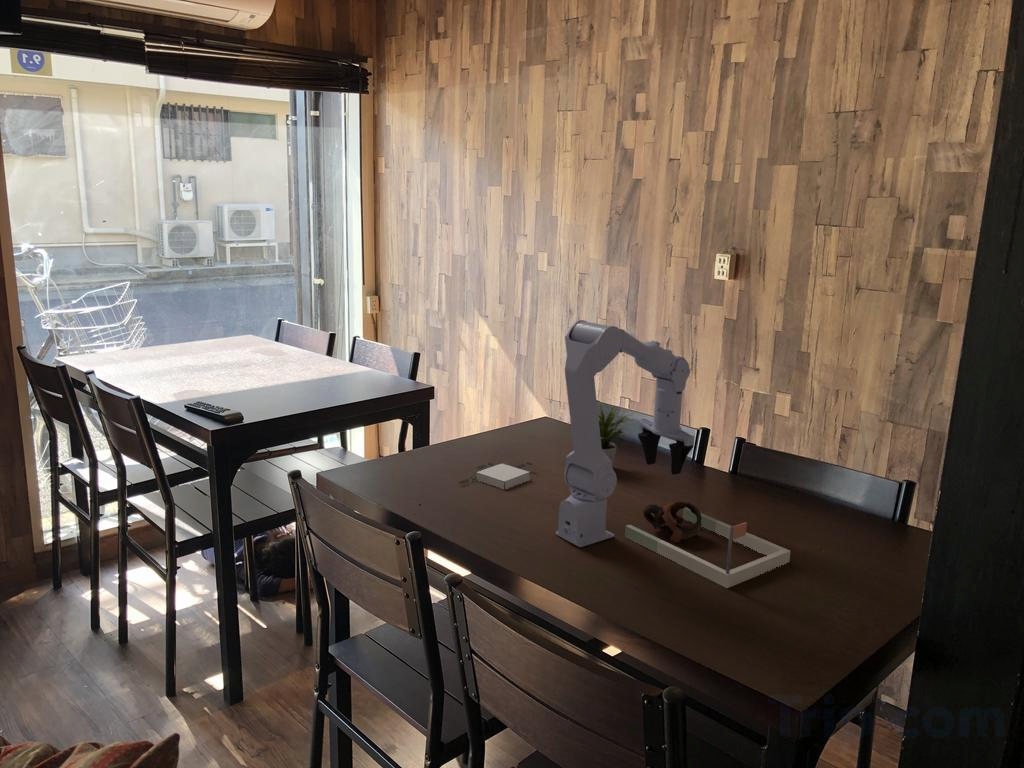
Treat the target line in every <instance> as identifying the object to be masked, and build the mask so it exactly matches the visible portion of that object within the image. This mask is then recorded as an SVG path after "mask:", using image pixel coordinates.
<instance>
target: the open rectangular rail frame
mask: <svg viewBox="0 0 1024 768" xmlns="http://www.w3.org/2000/svg"><path fill="white" fill-rule="evenodd" d="M700 514H701V517H702V519H701V523H702V524H701V528H702V527H704V528H706V529H708V530H707V531H709V530H711V531H713V532H715V533H717V534H716V535H718V534H719V535H718V536H720V535H722V536H724V537H726V538H725V539H727V538H728V539H727V540H728V544H727V545H728V546H727V555H726V556H727V558H726V568H725V569H723V568H721V567H720V566H717V565H715V564H713V563H711V562H709V561H706V560H705V559H702V557H701V558H700V557H699V556H696V555H694V554H693V553H690V552H688V551H686V550H684V549H682V548H680V547H677V546H676V545H673V544H671V543H669V542H667V541H665V540H662V539H661V538H658V537H656V536H655V535H653V534H650V533H649V532H646V531H644V530H642V529H640V528H638V527H636V526H633V525H631V524H627V525H625V530H624V531H625V532H624V538H625V539H627V540H630V541H632V542H634V543H635V544H637V543H638V545H640V546H641V545H642V547H643V546H644V548H645V547H646V549H647V548H648V550H649V549H650V550H649V551H651V550H652V552H653V551H654V553H655V552H656V554H657V553H658V554H657V555H659V554H660V556H661V555H662V556H661V557H663V556H664V558H665V557H666V559H667V558H668V560H669V559H670V560H669V561H671V560H672V562H673V561H674V562H673V563H675V562H676V563H675V564H678V565H680V566H681V567H683V568H685V569H688V570H689V571H691V572H693V573H696V574H697V575H699V576H702V577H704V579H705V578H706V579H707V580H710V581H712V582H713V583H716V584H717V585H719V586H722V587H724V588H726V589H728V588H731V587H734V586H736V585H739V584H741V583H743V582H746V581H748V580H750V579H753V578H756V577H758V576H760V574H761V575H763V574H765V572H766V573H768V572H770V571H773V570H775V569H777V568H776V567H778V568H780V567H782V566H781V565H783V566H785V565H787V564H786V563H788V562H789V563H790V561H791V560H790V559H791V550H789V549H787V548H785V547H782V546H780V545H777V544H775V543H773V542H771V541H768V540H766V539H763V538H761V537H758V536H757V535H754V534H751V533H749V532H748V531H747V525H748V522H746V521H745V522H742V523H738V524H736V525H730V524H729V523H728V524H727V523H726V522H723V521H721V520H718V519H717V518H714V517H711V516H709V515H707V514H704V513H702V512H700ZM682 518H684V519H685V520H684V521H686V520H687V521H686V522H688V521H690V522H692V523H691V524H693V523H696V521H697V517H696V515H695V514H694V513H692V512H691V510H690V509H689V508H687V507H685V508H683V509H682ZM690 522H689V523H690ZM704 528H703V529H704ZM706 529H705V530H706ZM711 531H710V532H711ZM713 532H712V533H713ZM715 533H714V534H715ZM722 536H721V537H722ZM724 537H723V538H724ZM732 540H733V541H732ZM734 541H735V542H734ZM733 542H734V543H736V542H738V543H740V544H743V545H744V546H743V545H742V546H743V547H745V546H747V547H749V548H751V549H750V550H752V549H753V550H752V551H754V550H755V551H754V552H756V551H757V552H756V553H759V554H761V553H762V554H761V555H763V554H764V555H763V557H760V558H757V559H755V560H752V561H750V562H748V563H745V564H743V565H740V566H736V567H735V568H731V558H732V549H733ZM738 543H737V544H738ZM740 544H739V545H740ZM747 547H746V548H747ZM749 548H748V549H749ZM765 555H767V556H765ZM789 563H788V564H789ZM784 564H785V565H784ZM779 566H780V567H779ZM730 568H731V569H730ZM774 568H775V569H774ZM772 569H773V570H772ZM767 571H768V572H767Z"/></svg>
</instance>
